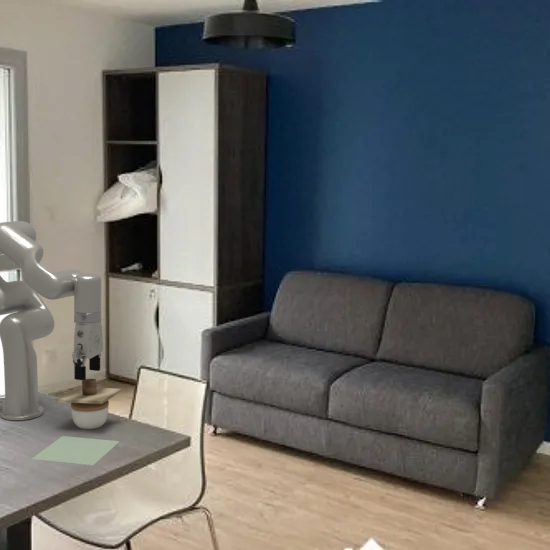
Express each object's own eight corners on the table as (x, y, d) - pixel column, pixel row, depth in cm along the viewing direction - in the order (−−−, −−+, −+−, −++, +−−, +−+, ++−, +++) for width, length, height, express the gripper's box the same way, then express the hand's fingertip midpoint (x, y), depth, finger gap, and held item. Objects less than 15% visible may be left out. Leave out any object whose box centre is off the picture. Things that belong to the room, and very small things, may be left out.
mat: (31, 462, 194) (31, 459, 194) (62, 439, 210) (62, 435, 210) (93, 469, 191) (93, 465, 191) (119, 444, 207) (119, 441, 207)
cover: (55, 402, 213) (54, 385, 213) (78, 389, 227) (77, 374, 226) (101, 403, 210) (101, 386, 210) (122, 391, 224) (121, 375, 224)
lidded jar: (99, 435, 214) (99, 403, 212) (64, 432, 216) (63, 400, 214) (115, 423, 224) (114, 392, 223) (81, 420, 226) (80, 389, 225)
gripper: (86, 324, 206) (86, 384, 209) (112, 312, 223) (111, 368, 226) (61, 322, 207) (61, 382, 210) (88, 310, 224) (88, 365, 227)
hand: (87, 374), depth 218 cm, fingers open, 9 cm apart
